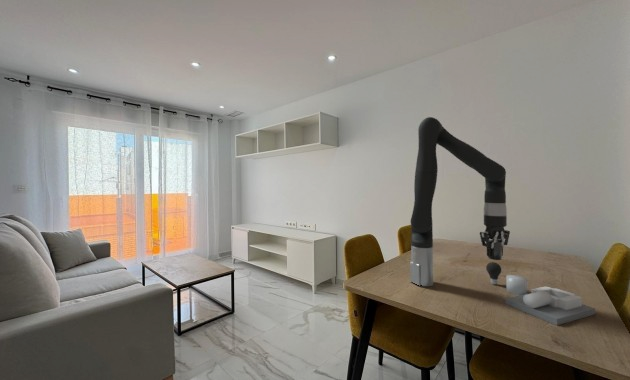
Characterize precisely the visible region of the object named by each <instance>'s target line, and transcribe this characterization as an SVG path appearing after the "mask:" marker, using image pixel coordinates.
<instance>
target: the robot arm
mask: <svg viewBox="0 0 630 380" xmlns="http://www.w3.org/2000/svg"><path fill="white" fill-rule="evenodd" d="M417 131H418V133H417V134H418V150H417V157H416V163H415V165H416V166H415V173H414V185H413V186H414V188H413V189H414V190H413V192H414V202H413V210H412V213H411V216H410V217H411V218H410V226H411V229H410V231H411V232H410V233H411V236H410V237H411V239H410V244H411V245H410V246H411V248H410V249H411V252H410V253H411V254H410V255H411V256H410V257H411V261H410V262H409V282H410V281H412V282H413V283H415V284H417V285H419V286H418V287H431V286H434V243H433V242H434V241H433V240H434V239H433V237H434V236H433V235H434V234H433V200H434V196H435V192H436V191H435V190H436V187H437V180H438V179H437V178H438V158H437V145H438V146H441V147H442V148H444V149H445V150H446V151H448V152H449V153H450V154H452V155H453V157H455V158H457V159H458V160H459V161H460V162H462V163H463V164H464V165H467V167H469V168H471V169H472V170H475V171H476V172H477V173H478V174H479V175H481V176H482V177H484V179H485V180H484V181H485V182H484V184H485V185H484V186H485V191H484V199H483V200H484V201H483V202H484V205H483V225H484V226H485V231H480V232H479V237H480V241H481V245H482V246H483V247H484V248H485V247H486V256H487V258H488V257H491V258H493V257H494V248H493V247H494V243H496V240H497V241H501V242H502V257H503V256H504V255H503V254H504V247H505V246H507V245H508V244H509V239H510V233H511V231H510V230H506V229H505V227H507V225H508V223H507V220H508V218H507V213H508V212H507V210H508V207H507V204H506V203H507V198H506V197H507V194H506V178H507V175H506V174H507V171H506V168H505V167H504V166H503V165H501V164H500V163H498V162H497V161H494V160H493V159H491V158H490V157H488V156H486V155H485V154H484V153H483V152H481V151H480V150H478V149H476V148H475V147H473V146H472V145H470V144H468V143H467V142H465V141H462V140H461V139H459V138H457V137H456V136H454V135H453V134H452V133H450V132H449V131H448V130H447V129H446V128H445V127H444V126H443V125H442V123H441V122H440V120H438V119H437V118H435V117H430V116H428V117H426V118H424V119H423V120H422V121H421V122H420V123H419V125H418V129H417ZM490 242H491V245H490ZM413 283H412V284H413ZM415 284H414V285H415ZM417 285H416V286H417ZM420 285H422V286H420Z"/></svg>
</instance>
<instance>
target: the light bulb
mask: <svg viewBox="0 0 630 380" xmlns="http://www.w3.org/2000/svg"><path fill="white" fill-rule="evenodd" d="M485 268H486V271H487V272H486V273H488V275H489V279H490V284H492V285H494V286H496V285H497V284H498V279H499V276H500V275H501V272H502V266H501V265H500V264H499V263H497V262H494V261H491V262H488V263H487V264H486V266H485Z"/></svg>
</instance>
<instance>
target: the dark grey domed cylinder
mask: <svg viewBox="0 0 630 380" xmlns="http://www.w3.org/2000/svg"><path fill="white" fill-rule="evenodd" d="M490 245H491V242H490ZM493 248H494V257H493V258H491V257H488V256H487V258H488V259H489V260H494V261H501V260H502V258H503V256H502V242H501V241H497V240H496V243H494V247H493Z"/></svg>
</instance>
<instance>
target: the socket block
mask: <svg viewBox="0 0 630 380" xmlns="http://www.w3.org/2000/svg"><path fill="white" fill-rule="evenodd" d="M582 301H583V297H581V296H579V295H576V294H575V293H573V292H569V291H565V290H562V289H559V288H556V287H554V288H552V287H548V286H547V285H546V286H541V287H536V288H532V289H530V292H529V293H527V294H524V295H514V296H512V297H511V296H510V297H507V298H505V304H506V305H508V306H510V307H512V308H514V309H517V310H520V311H522V312H523V313H527V314H529V315H531V316H534V317H536V318H538V319H541V320H543V321H546V322H548V323H550V324H553V325H555V326H560V325H563V324H566V323H570V322H573V321H577V320H580V319H584V318H587V317H590V316H594V315H596V308H595V307H592V306H589V305H587V304H583V302H582ZM593 314H594V315H593Z"/></svg>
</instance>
